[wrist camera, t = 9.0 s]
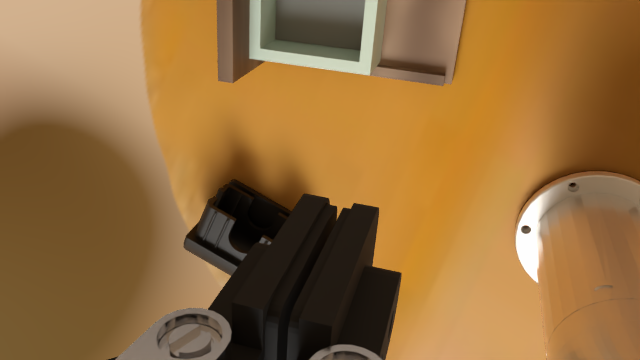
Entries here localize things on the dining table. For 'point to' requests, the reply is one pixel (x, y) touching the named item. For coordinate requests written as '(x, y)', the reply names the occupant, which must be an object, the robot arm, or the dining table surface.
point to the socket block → (318, 33)
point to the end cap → (234, 226)
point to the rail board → (397, 47)
